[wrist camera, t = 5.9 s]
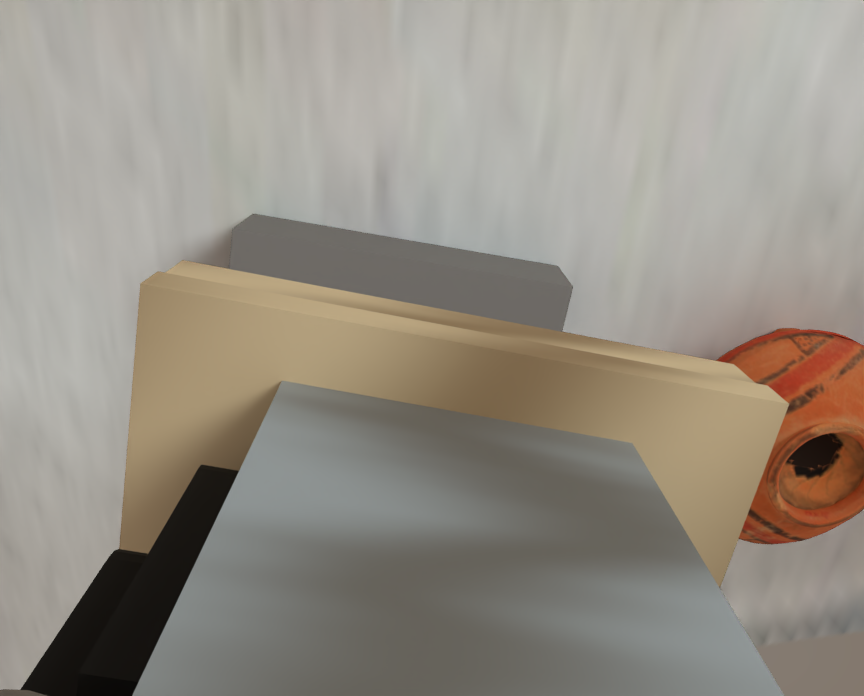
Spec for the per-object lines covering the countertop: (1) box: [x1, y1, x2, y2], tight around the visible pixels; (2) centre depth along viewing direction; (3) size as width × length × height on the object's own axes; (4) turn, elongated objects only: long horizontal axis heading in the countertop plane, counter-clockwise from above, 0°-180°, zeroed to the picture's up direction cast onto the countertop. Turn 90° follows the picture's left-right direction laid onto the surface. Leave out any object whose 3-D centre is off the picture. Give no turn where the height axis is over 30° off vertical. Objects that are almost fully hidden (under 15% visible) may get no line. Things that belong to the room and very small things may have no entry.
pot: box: [716, 328, 864, 544], centre depth 27 cm, size 8×8×7 cm
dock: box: [229, 214, 573, 332], centre depth 27 cm, size 11×11×3 cm
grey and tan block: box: [119, 260, 789, 696], centre depth 9 cm, size 9×7×8 cm
